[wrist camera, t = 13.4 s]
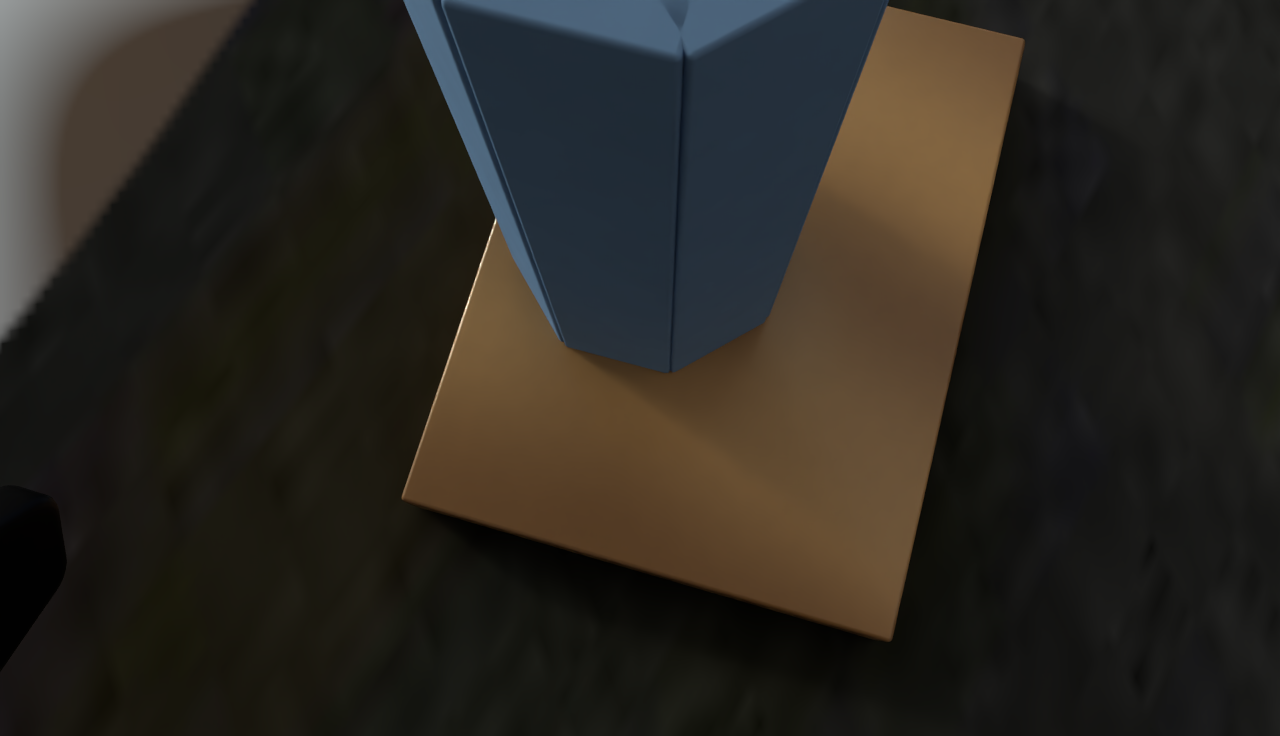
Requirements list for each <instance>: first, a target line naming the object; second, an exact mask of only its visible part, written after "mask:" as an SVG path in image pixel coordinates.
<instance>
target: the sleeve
mask: <svg viewBox="0 0 1280 736" xmlns="http://www.w3.org/2000/svg"><path fill="white" fill-rule="evenodd" d="M888 1H889V0H404V2H405V5H406V7H407V10H408V12H409V14H410V17H411V19H412V21H413V24H414V26H415V28H416V31H417V33H418V35H419V38H420V40H421V43H422V45H423V47H424V50H425V52H426V54H427V57H428V59H429V61H430V64H431V66H432V68H433V71H434V73H435V76H436V78H437V80H438V83H439V85H440V87H441V90H442V92H443V94H444V97H445V99H446V101H447V104H448V106H449V109H450V111H451V113H452V116H453V118H454V120H455V123H456V125H457V127H458V130H459V132H460V134H461V137H462V139H463V142H464V144H465V146H466V149H467V151H468V153H469V156H470V158H471V160H472V163H473V165H474V168H475V170H476V172H477V175H478V177H479V179H480V182H481V184H482V186H483V189H484V191H485V193H486V196H487V198H488V201H489V203H490V205H491V208H492V210H493V212H494V215H495V217H496V219H497V222H498V224H499V226H500V229H501V231H502V234H503V236H504V238H505V241H506V243H507V245H508V248H509V250H510V252H511V255H512V257H513V259H514V261H515V263H516V264H517V266H518V268H519V270H520V272H521V273H522V275H523V277H524V279H525V280H526V282H527V284H528V286H529V287H530V289H531V291H532V293H533V295H534V296H535V298H536V300H537V302H538V303H539V305H540V307H541V309H542V310H543V312H544V314H545V316H546V318H547V319H548V321H549V323H550V325H551V326H552V328H553V330H554V332H555V333H556V335H557V337H558V339H559V340H560V341H561V342H564V343H565V345H566V346H567V347H570V348H573V349H577V350H581V351H585V352H588V353H592V354H596V355H600V356H603V357H607V358H611V359H615V360H618V361H622V362H626V363H630V364H633V365H637V366H641V367H645V368H648V369H652V370H656V371H660V372H663V373H668V372H669V371H670V370H671V371H672V372H676V371H678V370H680V369H682V368H683V367H685V366H687V365H689V364H691V363H692V362H694V361H696V360H698V359H700V358H701V357H703V356H705V355H707V354H709V353H710V352H712V351H714V350H716V349H718V348H719V347H721V346H723V345H725V344H727V343H728V342H730V341H732V340H734V339H736V338H737V337H739V336H741V335H743V334H745V333H746V332H748V331H750V330H752V329H754V328H755V327H757V326H759V325H761V324H763V323H764V322H765V320H766V317H768V316H769V315H770V312H771V310H772V307H773V304H774V302H775V299H776V297H777V294H778V291H779V289H780V286H781V283H782V281H783V278H784V275H785V273H786V270H787V268H788V265H789V262H790V260H791V257H792V254H793V252H794V249H795V246H796V244H797V241H798V239H799V236H800V233H801V231H802V228H803V225H804V223H805V220H806V217H807V215H808V212H809V210H810V207H811V204H812V202H813V199H814V196H815V194H816V191H817V189H818V186H819V183H820V181H821V178H822V175H823V173H824V170H825V167H826V165H827V162H828V160H829V157H830V154H831V152H832V149H833V146H834V144H835V141H836V138H837V136H838V133H839V131H840V128H841V125H842V123H843V120H844V117H845V115H846V112H847V109H848V107H849V104H850V102H851V99H852V96H853V94H854V91H855V88H856V86H857V83H858V80H859V78H860V75H861V73H862V70H863V67H864V65H865V62H866V59H867V57H868V54H869V51H870V49H871V46H872V44H873V41H874V38H875V36H876V33H877V30H878V28H879V25H880V22H881V20H882V17H883V15H884V12H885V9H886V7H887V4H888Z"/></svg>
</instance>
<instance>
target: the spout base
mask: <svg viewBox="0 0 1280 736" xmlns="http://www.w3.org/2000/svg"><path fill="white" fill-rule="evenodd" d="M1024 46H1025V40H1024V39H1022V38H1018V37H1014V36H1009V35H1005V34H1001V33H997V32H993V31H989V30H984V29H980V28H976V27H972V26H968V25H963V24H959V23H955V22H951V21H947V20H943V19H938V18H934V17H930V16H926V15H922V14H918V13H913V12H909V11H905V10H901V9H897V8H893V7H888V6H887V7H886V9H885V12H884V15H883V17H882V20H881V22H880V25H879V28H878V30H877V33H876V36H875V38H874V41H873V44H872V46H871V49H870V51H869V54H868V57H867V59H866V62H865V65H864V67H863V70H862V73H861V75H860V78H859V80H858V83H857V86H856V88H855V91H854V94H853V96H852V99H851V102H850V104H849V107H848V109H847V112H846V115H845V117H844V120H843V123H842V125H841V128H840V131H839V133H838V136H837V138H836V141H835V144H834V146H833V149H832V152H831V154H830V157H829V160H828V162H827V165H826V167H825V170H824V173H823V175H822V178H821V181H820V183H819V186H818V189H817V191H816V194H815V196H814V199H813V202H812V204H811V207H810V210H809V212H808V215H807V217H806V220H805V223H804V225H803V228H802V231H801V233H800V236H799V239H798V241H797V244H796V246H795V249H794V252H793V254H792V257H791V260H790V262H789V265H788V268H787V270H786V273H785V275H784V278H783V281H782V283H781V286H780V289H779V291H778V294H777V297H776V299H775V302H774V304H773V307H772V310H771V312H770V315H769V316H768V317H766V320H765V322H764V323H763V324H761V325H759V326H757V327H755V328H754V329H752V330H750V331H748V332H746V333H745V334H743V335H741V336H739V337H737V338H736V339H734V340H732V341H730V342H728V343H727V344H725V345H723V346H721V347H719V348H718V349H716V350H714V351H712V352H710V353H709V354H707V355H705V356H703V357H701V358H700V359H698V360H696V361H694V362H692V363H691V364H689V365H687V366H685V367H683V368H682V369H680V370H678V371H676V372H672V371H671V370H670V371H669V372H668V373H663V372H660V371H656V370H652V369H648V368H645V367H641V366H637V365H633V364H630V363H626V362H622V361H618V360H615V359H611V358H607V357H603V356H600V355H596V354H592V353H588V352H585V351H581V350H577V349H573V348H570V347H567V346H566V345H565V343H564V342H561V341H560V340H559V339H558V337H557V335H556V333H555V332H554V330H553V328H552V326H551V325H550V323H549V321H548V319H547V318H546V316H545V314H544V312H543V310H542V309H541V307H540V305H539V303H538V302H537V300H536V298H535V296H534V295H533V293H532V291H531V289H530V287H529V286H528V284H527V282H526V280H525V279H524V277H523V275H522V273H521V272H520V270H519V268H518V266H517V264H516V263H515V261H514V259H513V257H512V255H511V252H510V250H509V248H508V245H507V243H506V241H505V238H504V236H503V234H502V231H501V229H500V226H499V224H498V222H497V219H496V218H495V221H494V224H493V227H492V230H491V233H490V236H489V239H488V242H487V245H486V248H485V251H484V254H483V257H482V260H481V263H480V266H479V269H478V272H477V275H476V278H475V281H474V284H473V287H472V290H471V293H470V296H469V298H468V301H467V304H466V307H465V310H464V313H463V316H462V319H461V322H460V325H459V328H458V331H457V334H456V337H455V340H454V343H453V346H452V349H451V352H450V355H449V358H448V361H447V364H446V367H445V370H444V373H443V376H442V379H441V381H440V384H439V387H438V390H437V393H436V396H435V399H434V402H433V405H432V408H431V411H430V414H429V417H428V420H427V423H426V426H425V429H424V432H423V435H422V438H421V441H420V444H419V447H418V450H417V453H416V456H415V459H414V462H413V464H412V467H411V470H410V473H409V476H408V479H407V482H406V485H405V488H404V491H403V494H402V500H403V501H404V502H407V503H409V504H412V505H414V506H417V507H419V508H423V509H426V510H430V511H433V512H437V513H440V514H443V515H447V516H450V517H454V518H457V519H461V520H464V521H467V522H471V523H474V524H478V525H481V526H485V527H488V528H492V529H495V530H498V531H502V532H505V533H509V534H512V535H516V536H519V537H522V538H526V539H529V540H533V541H536V542H540V543H543V544H546V545H550V546H553V547H557V548H560V549H564V550H567V551H571V552H574V553H577V554H581V555H584V556H588V557H591V558H595V559H598V560H601V561H605V562H608V563H612V564H615V565H619V566H622V567H625V568H629V569H632V570H636V571H639V572H643V573H646V574H650V575H653V576H656V577H660V578H663V579H667V580H670V581H674V582H677V583H680V584H684V585H687V586H691V587H694V588H698V589H701V590H704V591H708V592H711V593H715V594H718V595H722V596H725V597H728V598H732V599H735V600H739V601H742V602H746V603H749V604H753V605H756V606H759V607H763V608H766V609H770V610H773V611H777V612H780V613H783V614H787V615H790V616H794V617H797V618H801V619H804V620H807V621H811V622H814V623H818V624H821V625H825V626H828V627H832V628H835V629H838V630H842V631H845V632H849V633H852V634H856V635H859V636H862V637H866V638H869V639H873V640H878V641H884V642H890V641H891V640H892V638H893V634H894V629H895V625H896V620H897V616H898V611H899V607H900V602H901V598H902V593H903V589H904V584H905V580H906V575H907V571H908V566H909V562H910V557H911V553H912V548H913V544H914V539H915V535H916V531H917V526H918V522H919V517H920V513H921V508H922V504H923V499H924V495H925V490H926V486H927V481H928V477H929V472H930V468H931V463H932V459H933V454H934V450H935V445H936V441H937V436H938V432H939V427H940V423H941V418H942V414H943V409H944V405H945V400H946V396H947V391H948V387H949V383H950V378H951V374H952V369H953V365H954V360H955V356H956V351H957V347H958V342H959V338H960V333H961V329H962V324H963V320H964V315H965V311H966V306H967V302H968V297H969V293H970V288H971V284H972V279H973V275H974V270H975V266H976V261H977V257H978V252H979V248H980V243H981V239H982V235H983V230H984V226H985V221H986V217H987V212H988V208H989V203H990V199H991V194H992V190H993V185H994V181H995V176H996V172H997V167H998V163H999V158H1000V154H1001V149H1002V145H1003V140H1004V136H1005V131H1006V127H1007V122H1008V118H1009V113H1010V109H1011V104H1012V100H1013V96H1014V91H1015V87H1016V82H1017V78H1018V73H1019V69H1020V64H1021V60H1022V55H1023V51H1024Z"/></svg>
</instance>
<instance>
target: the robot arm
mask: <svg viewBox="0 0 1280 736" xmlns="http://www.w3.org/2000/svg"><path fill="white" fill-rule="evenodd" d="M66 563H67V560H66V552H65V546H64V540H63V534H62V527H61V521H60V515H59V509H58V506H57V504H56V502H55V501H54V500H53V499H52V498H51V497H50V496H48V495H45V494H42V493H39V492H35V491H32V490H29V489H26V488H22V487H19V486H13V485H7V486H2V487H0V671H1V670H2V668H3V667H4V666H5V664H6V663H7V661H8V660H9V658H10V657H11V655H12V654H13V653H14V651H15V650H16V648H17V647H18V645H19V644H20V642H21V641H22V640H23V638H24V637H25V635H26V634H27V632H28V631H29V629H30V628H31V627H32V625H33V624H34V622H35V621H36V619H37V618H38V616H39V615H40V614H41V612H42V611H43V609H44V608H45V606H46V605H47V604H48V602H49V601H50V599H51V598H52V596H53V595H54V593H55V592H56V591H57V589H58V587H59V586H60V584H61V581H62V579H63V577H64V574H65V570H66Z"/></svg>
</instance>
